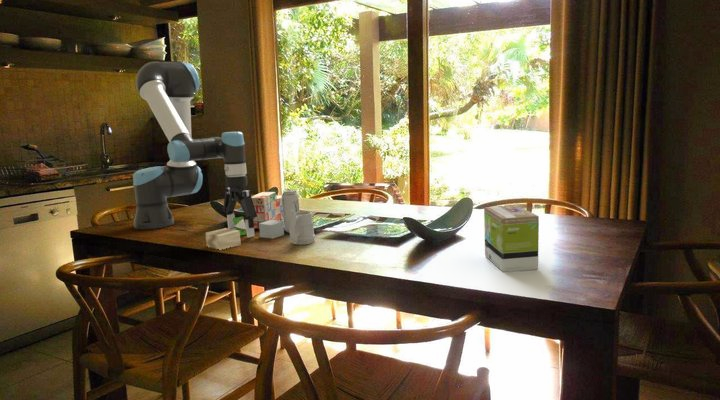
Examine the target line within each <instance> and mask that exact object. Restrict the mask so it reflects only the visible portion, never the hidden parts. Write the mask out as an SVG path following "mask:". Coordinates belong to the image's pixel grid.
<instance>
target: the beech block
mask: <svg viewBox="0 0 720 400" xmlns="http://www.w3.org/2000/svg"><path fill="white" fill-rule="evenodd" d="M205 241H206V242H205V243H206V247H207V246H208V247H207V248H210V247H211V248H210V249H214V248H215V249H214V250H217V249H219V250H218V251H223V250H226V248H227V249H230V247H231V248H234V247H238V246H241V245H242V244H241V243H242V241H241V236H240V231H238V230H233V229H228V227H224V228H220V229H216V230H212V231H207V232H205ZM222 249H223V250H222Z"/></svg>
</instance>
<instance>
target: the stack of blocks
mask: <svg viewBox="0 0 720 400" xmlns="http://www.w3.org/2000/svg"><path fill="white" fill-rule="evenodd" d="M251 198H252V201H253V204H254V207H255V210H256V214H257V217H255V218H254V219H253V220H254V230H256V229H258V230H260V229H259V224H260V223H263V222H266V221H269V220H274V221H279V220H280V221H282V220H284V219H283V205H282V194H280V195H277V192H276V191H262V192H259V193H257V194H255V195H251ZM281 219H282V220H281Z"/></svg>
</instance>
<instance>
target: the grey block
mask: <svg viewBox="0 0 720 400" xmlns="http://www.w3.org/2000/svg"><path fill="white" fill-rule="evenodd" d="M258 230H259V237H260V238H263V239H264V238H265V239H276V238H279V237H282V236H285V229H284V220H283V221H282V220H280V221H274V220H269V221H266V222H263V223H260V224H259V229H258Z"/></svg>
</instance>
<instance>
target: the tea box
mask: <svg viewBox="0 0 720 400" xmlns="http://www.w3.org/2000/svg"><path fill="white" fill-rule="evenodd" d="M483 209H484V210H483V211H484V212H483V213H484V215H483V217H484V219H483V220H484V221H483V222H484V256H485V257H486V258H487V259H488V260H490V262H491V263H493V264H494V265H495V266H496V267H497V268H498V269H499V270H500V271H501V272H502V273H510V272H511V273H512V272H523V271H524V272H525V271H535V270H538V269H539V230H540V229H539V225H540V222H539V221H540V220H539V218H540V217H539V215H537V214H535V213H534V212H531V211H530V210H527V209H525V208H523V207H521V206H520V205H518V204H513V205H502V206H501V205H499V206H490V207H489V206H487V207H486V206H485V207H484V208H483Z"/></svg>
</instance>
